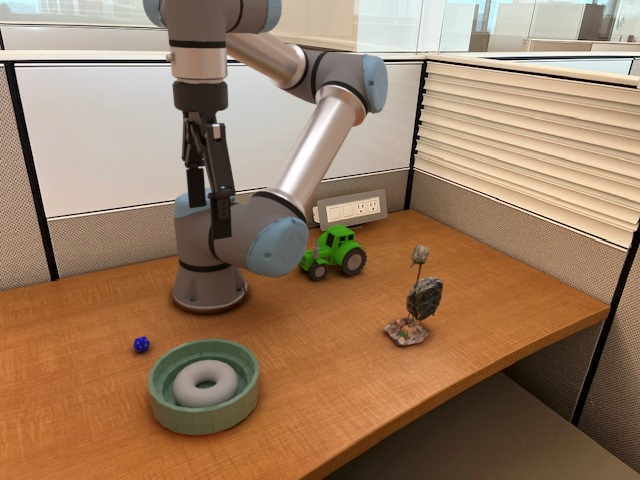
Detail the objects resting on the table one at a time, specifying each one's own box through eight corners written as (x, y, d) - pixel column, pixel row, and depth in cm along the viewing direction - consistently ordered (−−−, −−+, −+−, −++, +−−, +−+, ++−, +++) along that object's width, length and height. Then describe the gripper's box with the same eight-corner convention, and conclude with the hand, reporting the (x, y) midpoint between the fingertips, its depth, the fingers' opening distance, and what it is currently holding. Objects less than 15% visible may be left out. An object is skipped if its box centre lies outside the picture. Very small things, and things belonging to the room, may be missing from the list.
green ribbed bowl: (142, 379, 78) (139, 354, 76) (239, 352, 85) (238, 329, 83) (163, 454, 65) (159, 427, 63) (275, 415, 72) (275, 389, 70)
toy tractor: (288, 267, 115) (289, 229, 110) (343, 252, 123) (346, 216, 119) (313, 287, 106) (315, 247, 102) (370, 270, 115) (374, 232, 110)
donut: (207, 428, 69) (252, 387, 76) (205, 410, 67) (251, 370, 75) (159, 399, 73) (206, 363, 81) (156, 382, 72) (204, 347, 79)
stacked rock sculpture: (448, 340, 91) (465, 245, 82) (394, 350, 87) (406, 252, 79) (426, 316, 98) (440, 226, 89) (375, 325, 94) (385, 232, 86)
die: (143, 357, 83) (131, 346, 82) (140, 354, 85) (127, 343, 84) (155, 345, 84) (143, 334, 83) (151, 342, 86) (139, 331, 85)
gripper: (154, 70, 75) (167, 198, 84) (196, 93, 55) (207, 258, 64) (202, 70, 78) (210, 193, 87) (257, 91, 58) (260, 248, 67)
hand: (209, 221), depth 75 cm, fingers open, 13 cm apart
